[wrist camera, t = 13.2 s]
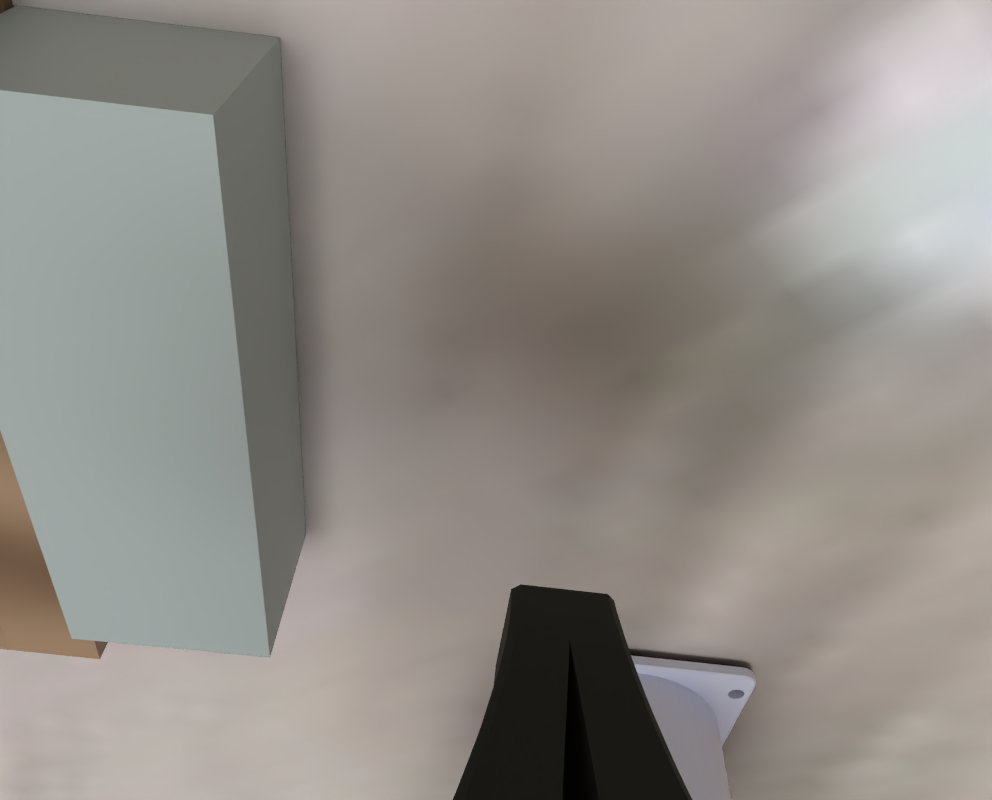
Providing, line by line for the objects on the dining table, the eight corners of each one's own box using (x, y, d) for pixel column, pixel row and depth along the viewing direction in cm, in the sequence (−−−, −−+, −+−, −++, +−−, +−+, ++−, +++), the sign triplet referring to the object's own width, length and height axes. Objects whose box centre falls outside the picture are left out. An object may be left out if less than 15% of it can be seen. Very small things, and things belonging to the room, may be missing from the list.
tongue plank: (307, 527, 25) (269, 657, 21) (86, 505, 25) (11, 632, 21) (283, 33, 16) (213, 115, 13) (-57, -8, 16) (-224, 63, 13)
